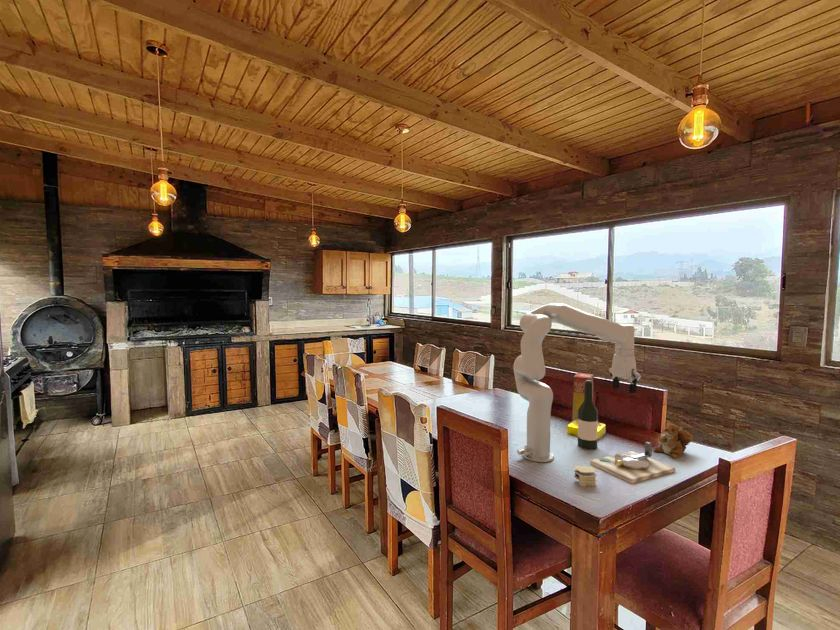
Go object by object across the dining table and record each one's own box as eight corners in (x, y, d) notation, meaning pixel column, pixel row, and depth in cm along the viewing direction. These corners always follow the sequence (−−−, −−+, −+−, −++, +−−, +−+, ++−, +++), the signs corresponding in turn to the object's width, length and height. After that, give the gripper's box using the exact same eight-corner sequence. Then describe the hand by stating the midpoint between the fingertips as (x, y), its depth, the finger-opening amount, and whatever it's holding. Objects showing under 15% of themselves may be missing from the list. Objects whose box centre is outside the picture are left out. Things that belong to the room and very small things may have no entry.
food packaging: (589, 425, 213) (590, 378, 212) (571, 422, 218) (571, 376, 217) (593, 419, 225) (594, 373, 224) (575, 416, 230) (576, 372, 228)
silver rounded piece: (630, 472, 152) (631, 455, 152) (604, 461, 163) (604, 444, 163) (664, 464, 160) (664, 447, 160) (636, 453, 171) (637, 437, 171)
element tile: (575, 426, 213) (576, 417, 213) (606, 432, 203) (606, 423, 203) (565, 434, 201) (565, 424, 201) (597, 440, 192) (597, 430, 192)
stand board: (631, 483, 148) (631, 478, 148) (589, 463, 165) (590, 459, 165) (675, 471, 158) (675, 467, 157) (631, 454, 175) (631, 450, 175)
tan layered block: (593, 478, 152) (594, 464, 152) (603, 490, 144) (604, 474, 143) (566, 478, 153) (567, 463, 153) (574, 489, 144) (575, 474, 144)
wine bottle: (599, 450, 179) (600, 382, 178) (579, 449, 181) (580, 381, 179) (595, 443, 187) (596, 378, 186) (576, 442, 189) (577, 378, 187)
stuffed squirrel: (651, 450, 179) (652, 421, 178) (675, 446, 183) (675, 417, 183) (672, 459, 169) (673, 428, 169) (696, 455, 174) (697, 424, 173)
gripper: (603, 350, 188) (603, 386, 189) (632, 355, 172) (632, 395, 172) (616, 349, 190) (616, 385, 191) (647, 354, 174) (646, 394, 175)
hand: (624, 390), depth 182 cm, fingers open, 9 cm apart
